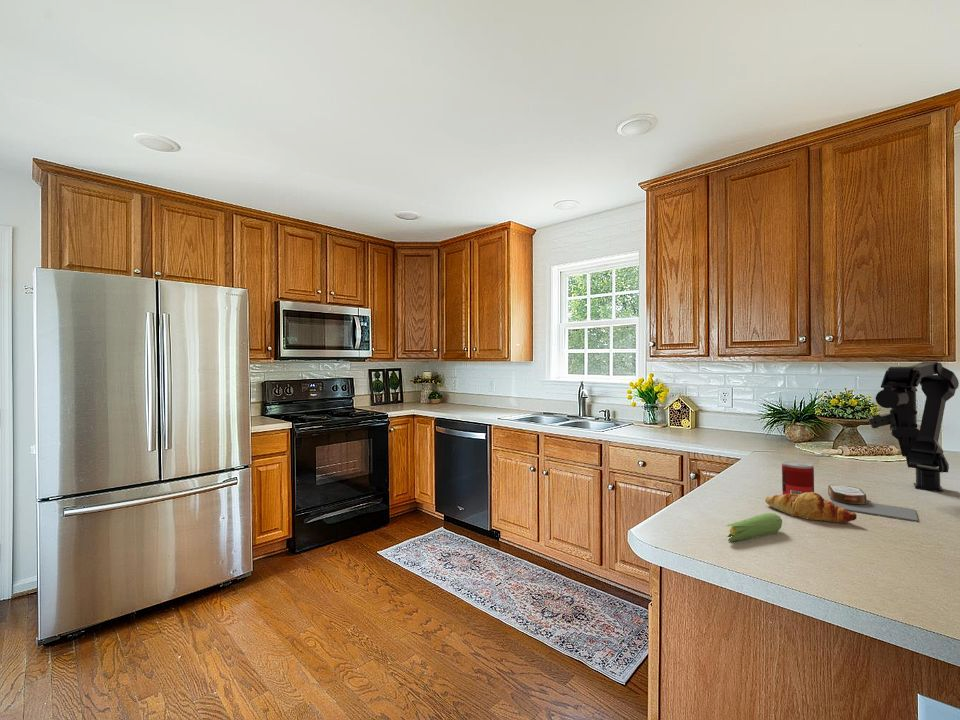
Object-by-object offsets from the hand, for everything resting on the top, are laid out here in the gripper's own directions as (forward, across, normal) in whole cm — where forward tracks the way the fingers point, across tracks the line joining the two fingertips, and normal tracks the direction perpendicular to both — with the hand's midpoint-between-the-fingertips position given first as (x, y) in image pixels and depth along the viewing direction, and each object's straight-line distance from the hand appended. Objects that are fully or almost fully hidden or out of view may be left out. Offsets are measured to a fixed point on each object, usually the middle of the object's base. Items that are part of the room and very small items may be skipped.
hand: (904, 456), depth 140 cm
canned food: (+12, +26, -25) cm, 38 cm away
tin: (+10, +16, -10) cm, 21 cm away
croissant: (+12, +40, -21) cm, 47 cm away
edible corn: (+12, +67, -30) cm, 75 cm away
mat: (+12, +24, -8) cm, 28 cm away
